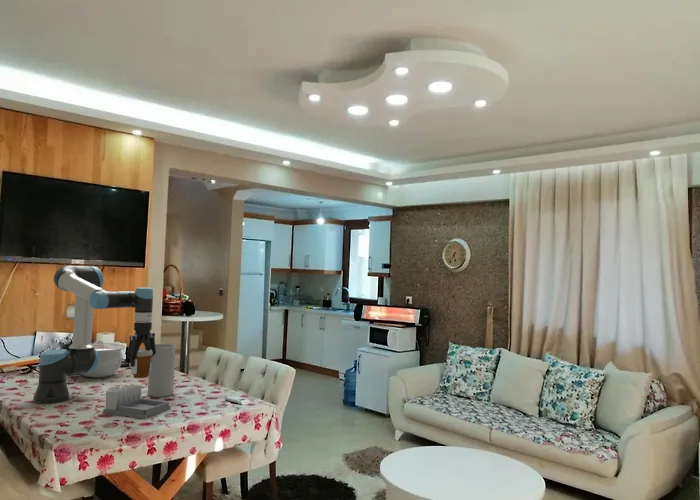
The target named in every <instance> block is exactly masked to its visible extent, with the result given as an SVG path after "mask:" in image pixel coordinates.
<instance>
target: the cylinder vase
mask: <svg viewBox="0 0 700 500" xmlns="http://www.w3.org/2000/svg"><path fill="white" fill-rule="evenodd" d="M155 348H156V354H154V356H152V363H151V371H149V375H148V377H147V378H148V379H147V396H149V397H154V398H165V397H169V396H172V395H174V387H175V386H174V385H175V384H174V383H175V369H176V368H175V363H176V362H175V361H176V344H172V343H155Z"/></svg>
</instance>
